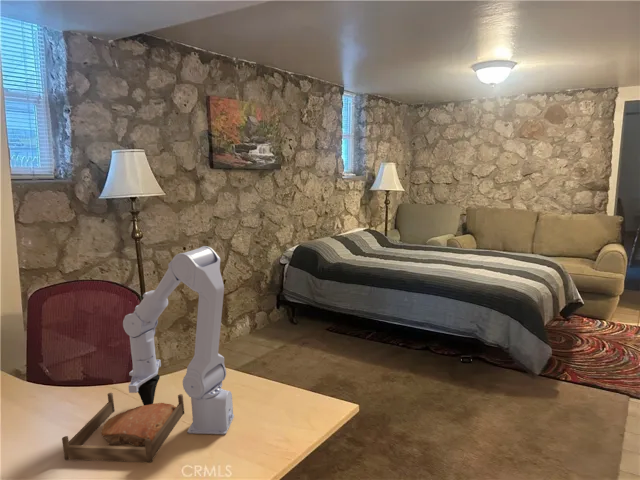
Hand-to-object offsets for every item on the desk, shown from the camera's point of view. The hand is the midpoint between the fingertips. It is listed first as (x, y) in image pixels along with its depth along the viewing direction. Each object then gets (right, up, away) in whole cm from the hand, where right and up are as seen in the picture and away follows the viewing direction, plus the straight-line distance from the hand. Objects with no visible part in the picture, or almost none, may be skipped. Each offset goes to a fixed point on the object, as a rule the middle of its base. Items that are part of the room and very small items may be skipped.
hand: (148, 404), depth 121 cm
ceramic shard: (+1, -4, -8) cm, 9 cm away
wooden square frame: (-1, -3, -10) cm, 11 cm away
